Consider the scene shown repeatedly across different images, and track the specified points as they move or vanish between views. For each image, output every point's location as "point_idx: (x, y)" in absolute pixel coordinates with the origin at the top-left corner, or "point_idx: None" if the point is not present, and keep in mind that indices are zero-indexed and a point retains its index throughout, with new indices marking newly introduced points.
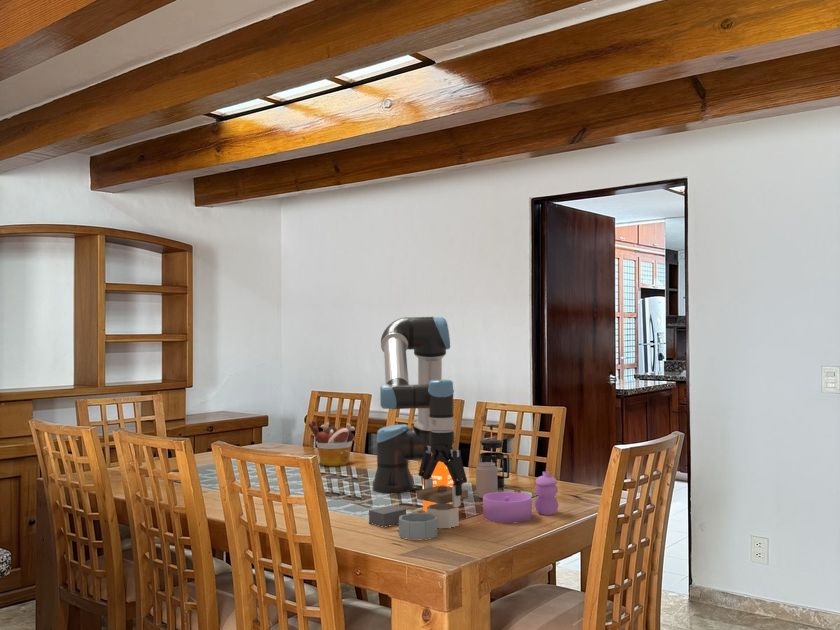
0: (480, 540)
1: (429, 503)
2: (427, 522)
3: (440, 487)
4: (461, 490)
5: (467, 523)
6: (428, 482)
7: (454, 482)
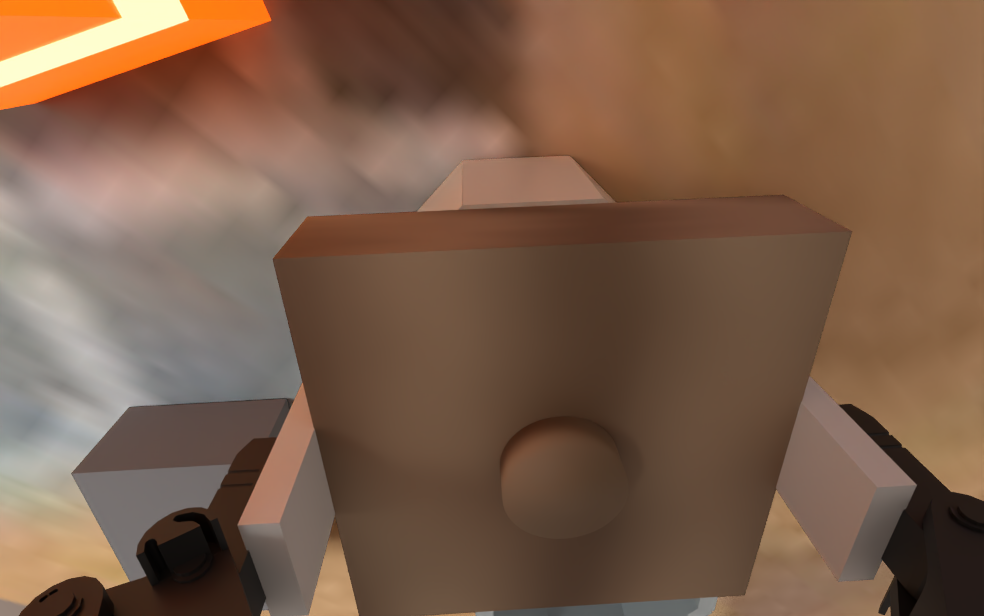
0: (945, 349)
1: (35, 89)
2: (714, 598)
3: (573, 524)
4: (900, 447)
5: (637, 107)
6: (309, 550)
7: (907, 611)
